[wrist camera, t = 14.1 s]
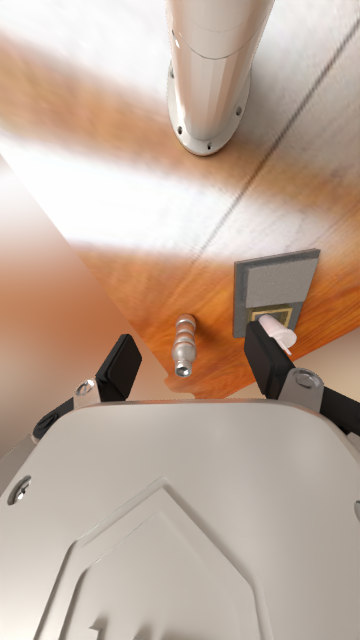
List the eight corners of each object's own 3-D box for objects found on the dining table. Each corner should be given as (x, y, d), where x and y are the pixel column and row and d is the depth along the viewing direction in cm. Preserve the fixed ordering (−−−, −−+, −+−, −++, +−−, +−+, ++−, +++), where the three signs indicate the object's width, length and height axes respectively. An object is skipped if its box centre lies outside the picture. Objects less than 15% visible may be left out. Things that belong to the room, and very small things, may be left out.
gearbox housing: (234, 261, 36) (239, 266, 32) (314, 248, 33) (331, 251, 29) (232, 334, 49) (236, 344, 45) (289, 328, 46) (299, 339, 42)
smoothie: (259, 308, 41) (286, 342, 29) (281, 312, 41) (316, 346, 29) (250, 326, 44) (271, 362, 33) (270, 329, 44) (298, 366, 33)
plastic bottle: (194, 309, 45) (195, 360, 28) (197, 326, 48) (200, 380, 32) (174, 312, 46) (164, 363, 29) (178, 329, 49) (172, 382, 33)
